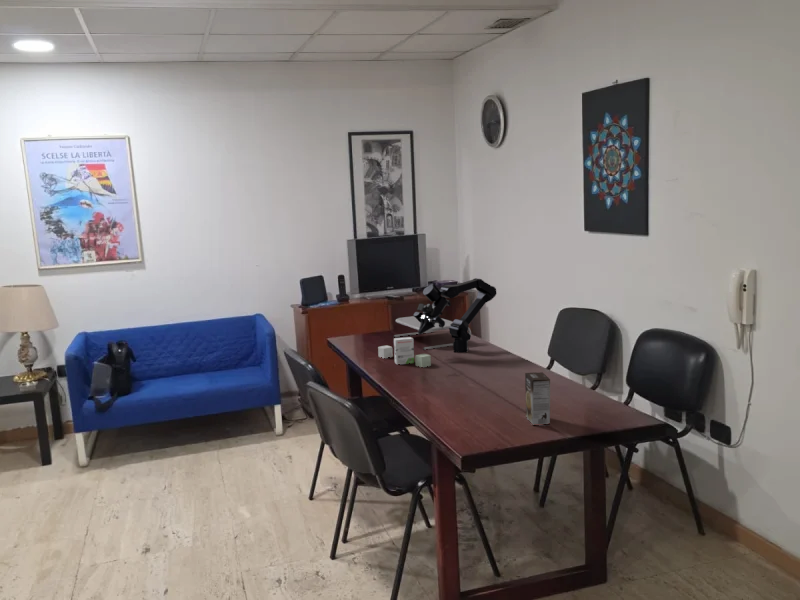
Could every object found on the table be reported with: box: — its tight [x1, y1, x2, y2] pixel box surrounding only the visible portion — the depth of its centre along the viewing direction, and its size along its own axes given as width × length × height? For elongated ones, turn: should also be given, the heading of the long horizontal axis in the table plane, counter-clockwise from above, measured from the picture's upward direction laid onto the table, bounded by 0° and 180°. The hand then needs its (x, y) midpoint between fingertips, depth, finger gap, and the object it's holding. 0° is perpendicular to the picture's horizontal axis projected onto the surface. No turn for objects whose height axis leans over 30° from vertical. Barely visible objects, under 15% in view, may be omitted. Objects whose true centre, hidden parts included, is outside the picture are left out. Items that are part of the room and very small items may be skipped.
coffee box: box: [524, 371, 551, 425], centre depth 238 cm, size 9×6×16 cm
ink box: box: [393, 336, 415, 366], centre depth 324 cm, size 9×5×12 cm, turn 103°
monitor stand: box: [393, 315, 472, 351], centre depth 371 cm, size 37×28×11 cm
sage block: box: [414, 353, 432, 368], centre depth 319 cm, size 5×5×5 cm
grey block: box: [377, 344, 394, 359], centre depth 338 cm, size 5×5×5 cm
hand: (419, 333), depth 328 cm, fingers closed
